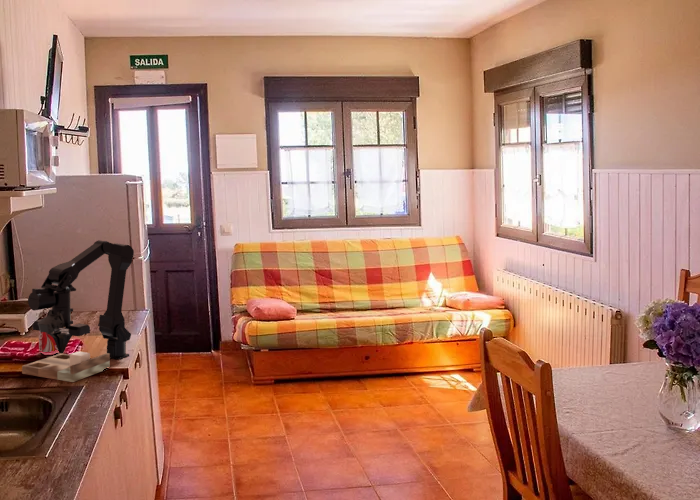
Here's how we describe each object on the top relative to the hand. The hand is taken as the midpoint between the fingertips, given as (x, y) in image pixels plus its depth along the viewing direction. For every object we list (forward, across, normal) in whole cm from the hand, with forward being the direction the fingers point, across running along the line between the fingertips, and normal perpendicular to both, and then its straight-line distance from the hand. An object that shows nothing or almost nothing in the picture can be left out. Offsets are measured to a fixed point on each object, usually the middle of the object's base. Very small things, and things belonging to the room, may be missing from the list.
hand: (61, 353), depth 263 cm
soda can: (+6, -17, +14) cm, 23 cm away
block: (+3, +8, 0) cm, 8 cm away
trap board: (+6, +2, 0) cm, 6 cm away
